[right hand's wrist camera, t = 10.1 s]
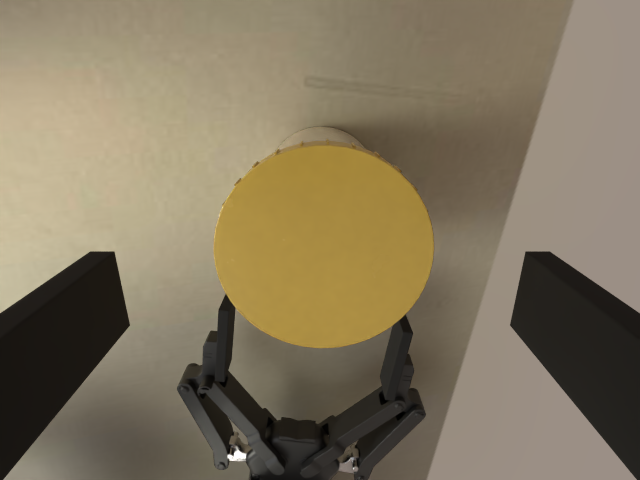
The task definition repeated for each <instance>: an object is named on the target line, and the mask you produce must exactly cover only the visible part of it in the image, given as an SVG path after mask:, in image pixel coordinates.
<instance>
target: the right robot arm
mask: <svg viewBox="0 0 640 480" xmlns="http://www.w3.org/2000/svg"><path fill="white" fill-rule="evenodd" d="M129 326H130V324H129V319H128V314H127V309H126V305H125V300H124V295H123V290H122V286H121V281H120V276H119V271H118V267H117V262H116V257H115V252H89V253H88V254H86V255H85V256H83V257H82V258H80V259H79V260H77V261H76V262H74V263H73V264H72V265H70V266H69V267H67V268H66V269H64V270H63V271H61V272H60V273H58V274H57V275H56V276H54V277H53V278H51V279H50V280H48V281H47V282H45V283H44V284H42V285H41V286H40V287H38V288H37V289H35V290H34V291H32V292H31V293H29V294H28V295H26V296H25V297H24V298H22V299H21V300H19V301H18V302H16V303H15V304H13V305H12V306H10V307H9V308H7V309H6V310H5V311H3V312H2V313H0V480H3V479H4V478H5V477H6V475H7V474H8V473H9V472H10V471H11V469H12V468H13V467H14V466H15V464H16V463H17V462H18V461H19V460H20V458H21V457H22V456H23V455H24V454H25V452H26V451H27V450H28V449H29V447H30V446H31V445H32V444H33V443H34V441H35V440H36V439H37V438H38V436H39V435H40V434H41V433H42V432H43V430H44V429H45V428H46V427H47V426H48V424H49V423H50V422H51V421H52V419H53V418H54V417H55V416H56V415H57V413H58V412H59V411H60V410H61V408H62V407H63V406H64V405H65V404H66V402H67V401H68V400H69V399H70V398H71V396H72V395H73V394H74V393H75V391H76V390H77V389H78V388H79V387H80V385H81V384H82V383H83V382H84V380H85V379H86V378H87V377H88V376H89V374H90V373H91V372H92V371H93V370H94V368H95V367H96V366H97V365H98V363H99V362H100V361H101V360H102V359H103V357H104V356H105V355H106V354H107V353H108V351H109V350H110V349H111V348H112V346H113V345H114V344H115V343H116V342H117V340H118V339H119V338H120V337H121V335H122V334H123V333H124V332H125V331H126V329H127V328H128V327H129ZM510 326H511V327H512V328H513V329H514V331H515V332H516V333H517V334H518V335H519V337H520V338H521V339H522V340H523V342H524V343H525V344H526V345H527V346H528V348H529V349H530V350H531V351H532V353H533V354H534V355H535V356H536V357H537V359H538V360H539V361H540V362H541V363H542V365H543V366H544V367H545V368H546V370H547V371H548V372H549V373H550V374H551V376H552V377H553V378H554V379H555V380H556V382H557V383H558V384H559V385H560V387H561V388H562V389H563V390H564V391H565V393H566V394H567V395H568V396H569V398H570V399H571V400H572V401H573V402H574V404H575V405H576V406H577V407H578V408H579V410H580V411H581V412H582V413H583V415H584V416H585V417H586V418H587V419H588V421H589V422H590V423H591V424H592V425H593V427H594V428H595V429H596V430H597V432H598V433H599V434H600V435H601V436H602V438H603V439H604V440H605V441H606V443H607V444H608V445H609V446H610V447H611V449H612V450H613V451H614V452H615V454H616V455H617V456H618V457H619V458H620V460H621V461H622V462H623V463H624V464H625V466H626V467H627V468H628V469H629V471H630V472H631V473H632V474H633V475H634V477H635V478H636V479H637V480H640V313H638V312H637V311H635V310H634V309H632V308H631V307H630V306H628V305H627V304H625V303H624V302H622V301H621V300H619V299H618V298H616V297H615V296H614V295H612V294H611V293H609V292H608V291H606V290H605V289H603V288H602V287H600V286H599V285H597V284H596V283H595V282H593V281H592V280H590V279H589V278H587V277H586V276H584V275H583V274H582V273H580V272H579V271H577V270H576V269H574V268H573V267H571V266H570V265H568V264H567V263H565V262H564V261H563V260H561V259H560V258H558V257H557V256H555V255H554V254H552V253H551V252H525V257H524V262H523V267H522V271H521V276H520V281H519V286H518V290H517V295H516V300H515V305H514V310H513V314H512V319H511V324H510Z"/></svg>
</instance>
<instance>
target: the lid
mask: <svg viewBox="0 0 640 480" xmlns="http://www.w3.org/2000/svg"><path fill="white" fill-rule="evenodd" d="M400 172H401V170H400V169H399V168H398V167H397V166H392V165H391V164H390V163H389V162H387V161H386V160H385V159H384V158H382V157H380V155H379V154H378V153H377V152H374V153H373V152H372V151H369V150H367V149H364V148H362V147H359V146H356V145H355V144H354V143H353V142H351V144H349V143H345V142H337V141H329V139H326V141H310V142H304V143H303V141H301V142H300V143H299V144H295V145H292V146H289V147H286V148H283V149H281V150H279V149H277V150H276V151H275V152H274V153H272V154H271V155H269V156H268V157H266V158H264V159H263V160H261V161H260V162H258V161H257V162H256V163H255V164H254V165H253V166H252V169H250V171H249V172H248V173H247V174H246V175H245V176H244V177H243V178H242V179H241V178H240V179H239V180H238V181H237V182H236V183H235V187H234V189H233V190H232V192H231V193H230V195H229V196H228V198H227V199H226V201H225V202H224V203H223V205H222V206H223V208H222V210H221V212H220V215H219V218H218V221H217V224H216V227H215V235H214V259H215V266H216V270H217V273H218V277H219V280H220V282H221V284H222V287H223V289H224V291H225V293H226V294H227V296H228V298H229V299H230V301H231V302H232V304H233V305H234V306H235V308H236V309H237V310H238V311H239V312H240V313H241V314H242V315H243V316H244V317H245V318H246V319H247V320H248V321H249V322H250V323H252V324H253V325H254V326H255V327H257V328H258V329H260V330H261V331H263V332H265V333H266V334H268V335H270V336H272V337H275V338H277V339H279V340H281V341H284V342H287V343H291V344H294V345H299V346H304V347H312V348H334V347H342V346H348V345H352V344H356V343H359V342H362V341H365V340H368V339H370V338H372V337H374V336H376V335H378V334H380V333H382V332H384V331H385V330H387V329H388V328H390V327H391V326H393V325H394V324H395V323H396V322H398V321H399V320H400V319H401V318H402V317H403V316H404V315H405V314H406V313H407V312H408V311H409V310H410V309H411V308H412V306H413V305H414V304H415V302H416V301H417V299H418V298H419V296H420V295H421V293H422V291H423V289H424V287H425V285H426V283H427V280H428V277H429V275H430V271H431V267H432V263H433V255H434V235H433V230H432V224H431V220H430V217H429V215H428V210H427V209H426V207H425V205H424V203H423V201H422V199H421V197H420V195H419V194H418V193H417V189H416V188H415V187H414V186H413V185H412V184H411V183H410V182H409V181H408V180H407V179H406V178H405V177H404V176H403V175H402V174H401V173H400Z"/></svg>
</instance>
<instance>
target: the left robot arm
mask: <svg viewBox="0 0 640 480" xmlns="http://www.w3.org/2000/svg"><path fill="white" fill-rule="evenodd" d="M234 320H235V306H234V305H233V304H232V302H231V301H230V299H229V298H228V296H227V294H226V295H225V297H224V299H223V301H222V304H221V306H220V308H219V313H218V331H210V333H209V335H208V337H207V339H206V341H205V344H204V346H203V365H200V366H199V365H197V364H195V363H191V364H189V365H188V366H187V368H186V370H185V372H184V374H183V376H182V378H181V380H180V383H179V385H178V387H177V390H178V392H179V394H180V396H181V398H182V399H183V401H184V403H185V404H186V406H187V408H188V409H189V411H190V413H191V414H192V416H193V418H194V419H195V421H196V423H197V425H198V426H199V428H200V430H201V431H202V433H203V435H204V436H205V438H206V440H207V441H208V443H209V445H210V446H211V448H212V450H213V454H214V465H215V467H216V468H217V469H220V470H224V469H227V467H228V465H229V461H246V463H247V465H248V467H249V468H250V475H249V480H331V479H332V477H333V476H334V475H335V474H336V473H337V472H338V471H342V472H348V473H353V474H354V480H368V478H369V476H370V473H371V471H372V469H373V467H374V466H375V465H376V464H377V463H378V462H379V461H380V460H381V459H382V458H383V457H384V456H385V455H386V454H387V453H388V452H389V451H391V450H392V449H393V448H394V447H395V446H396V445H397V444H398V443H399V442H400V441H401V440H402V439H403V438H404V437H405V436H406V435H407V434H408V433H409V432H410V431H411V430H412V429H413V428H414V427H415V426H416V425H417V424H419V423H420V422H421V421H422V420H423V419H424V418H425V416H426V413H425V410H424V407H423V404H422V401H421V398H420V395H419V392H418V390H417V389H415V388H410V389H409V387H410V383H411V380H412V376H413V373H414V368H413V364H412V361H411V358H410V355H409V354H407V353H408V350H409V346H410V343H411V339H412V335H413V332H412V329H411V327H410V324H409V322H408V319H407V317H406V314H405V315H404V316H403V317H402V318H401V319H400V320H399V321H398V322H396V323H395V324H394V325H393V327H392V331H391V335H390V339H389V343H388V347H387V351H386V355H385V359H384V362H383V366H382V370H381V374H380V379H381V383H382V386H381V387H380V388H378V389H377V390H375V391H374V392H372V393H371V394H369V395H368V396H366V397H365V398H363V399H362V400H360V401H359V402H357V403H356V404H354V405H353V406H352V407H350V408H349V409H347V410H346V411H344V412H343V413H341V414H340V415H338V416H336V417H335V416H333V415H332V416H330V417H328V418H327V419H325V420H324V421H322V422H321V423H319V424H316V421H312V420H302V421H297V420H294V419H291V418H284V417H281V420H278V421H277V420H276V419H275V418H274V417H273V415H272V414H271V413H270V412H269V411H268V410H267V409H266V408H264V409H262V408H261V407H260V406H259V405H258V404H257V402H256V401H255V400H254V399H253V398H252V397H251V396H250V394H249V393H248V392H247V391H246V390H245V389H244V388H243V387H242V385H241V384H240V383H239V382H238V381H237V380H236V379H235V378H234V376H233V375H232V374H231V373H230V372H229V371H228V369H229V366H230V363H231V360H232V347H233V333H234ZM227 416H228V417H229V418H230V420H231V421H232V422H233V423H234V424H235V425H236V426H237V427H238V428H239V429H240V430H241V431H242V432H243V433H244V434H245V436H246V437H247V439H248V443H249V444H248V445H247V444H243V443H242V442H241V440H240V438H239V437H238V435H239V433H238V432H233V428H232V424H231V422H230V420H229V418H228V417H227ZM328 435H329V436H328ZM358 439H359V440H358ZM357 440H358V442H357V444H356V445H355V444H352V443H354V442H355V441H357ZM351 444H352V445H351ZM349 445H351V446H350V450H349V451H348V452H347V453H346V454H343V453H344V451H345V449H346V447H347V446H349Z"/></svg>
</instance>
